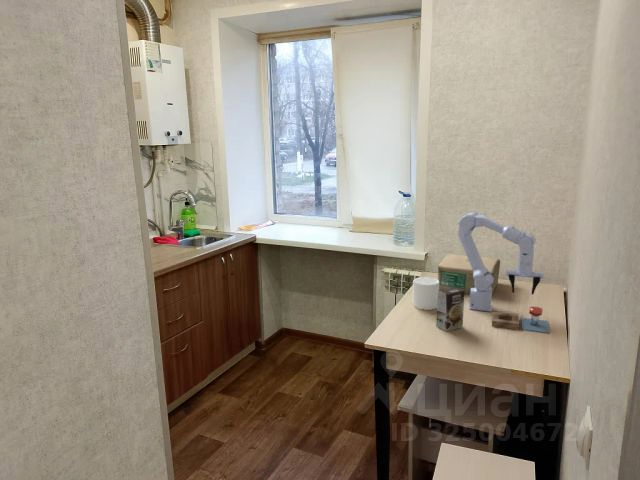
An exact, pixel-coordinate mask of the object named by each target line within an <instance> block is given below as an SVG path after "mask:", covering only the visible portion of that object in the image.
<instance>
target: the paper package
mask: <svg viewBox="0 0 640 480" xmlns="http://www.w3.org/2000/svg"><path fill="white" fill-rule="evenodd" d="M480 257H481V259H482V262H483V264H484V266H485V267H486V268H487V269H488V271H489V273H490V274H492V275H493V277H494V282H493V284H492V285H491V287H492V293H493V292H494V290H495V288H496V287H497V284H498V283H499V275H500V270H501V269H500V268H501V260H500V259H499V258H496V257H495V258H494V257H486V256H485V257H483V256H480ZM437 269H438V270H437V272H438V273H437V280H438V281H439V290H441V289H446V288H450V287H456V288H459V289H462V290H464V291H465V294H464V295H470V292H471V288H475V285H474V278H473V269H472V267H471V264H470V262H469V260H468V257H467V255H463V254H462V255H461V254H460V255H459V254H451V253H448V254H446V256H445V257H444V258H443V260H442V261H441V262H440V263H439V264H438V266H437Z"/></svg>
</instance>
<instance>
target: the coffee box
mask: <svg viewBox="0 0 640 480" xmlns="http://www.w3.org/2000/svg"><path fill="white" fill-rule="evenodd" d="M465 295H466V294H465V291H464V290H462V289H459V288H456V287H450V288H446V289H441V290H438V302H437V308H436V322H435V326H436V327H437V328H439V329H441V330H442V331H444V332H450V331H453V330H456V329H461V328H463V324H464V323H463V322H464V307H465V306H464V305H465Z"/></svg>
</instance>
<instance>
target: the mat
mask: <svg viewBox="0 0 640 480" xmlns="http://www.w3.org/2000/svg"><path fill="white" fill-rule="evenodd" d="M520 319H521V330H522V331H529V332H534V333H535V332H536V333H543V334H544V333H545V334H550V328H549V323H548V320H545V319H539V325H538V326H532V325H531V318H528V317H520Z"/></svg>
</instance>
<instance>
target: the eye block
mask: <svg viewBox="0 0 640 480" xmlns="http://www.w3.org/2000/svg"><path fill="white" fill-rule="evenodd" d="M519 325H520V317H519V314H516V313H508V312H500V311H499V312H498V311H492V318H491V327H495V328H502V329H503V328H504V329H510V330H519V329H520V326H519Z"/></svg>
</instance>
